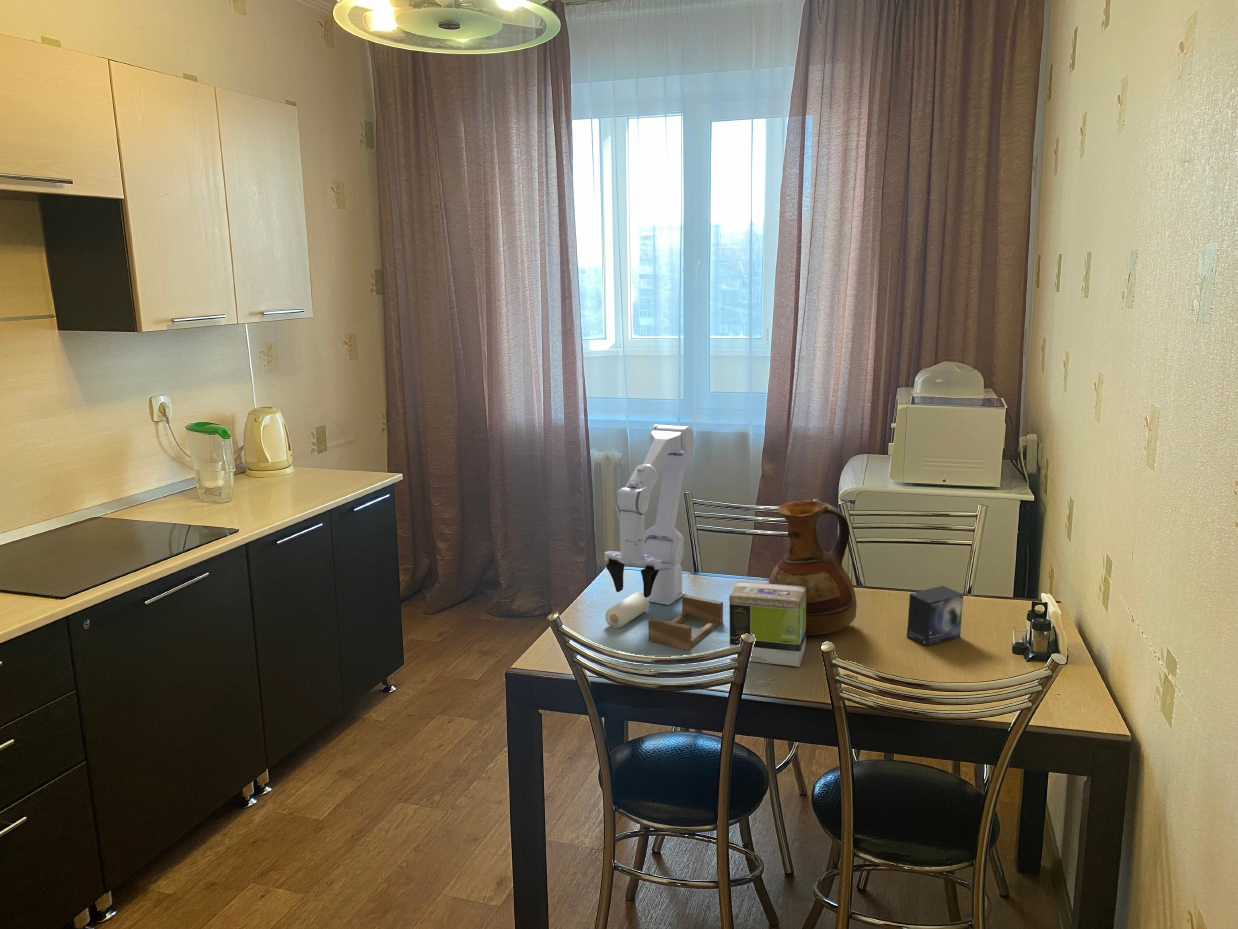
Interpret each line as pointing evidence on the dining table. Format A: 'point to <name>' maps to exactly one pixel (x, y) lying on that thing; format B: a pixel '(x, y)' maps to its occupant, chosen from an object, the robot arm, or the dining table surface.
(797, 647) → the tea box
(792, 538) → the ceramic pitcher
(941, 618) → the small box
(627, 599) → the cylinder
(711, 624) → the holder
